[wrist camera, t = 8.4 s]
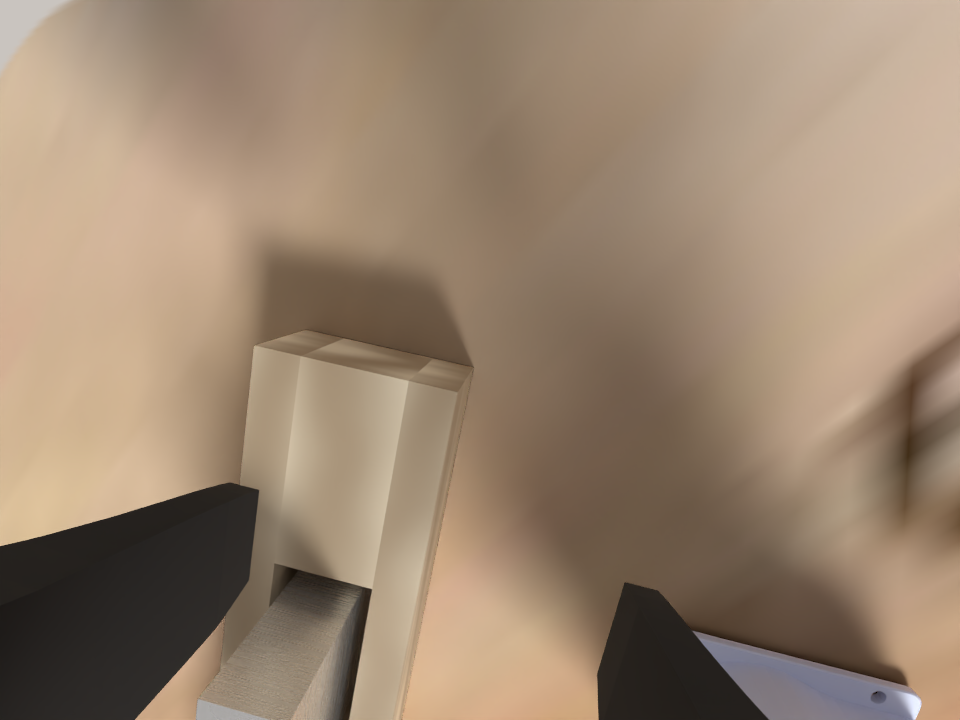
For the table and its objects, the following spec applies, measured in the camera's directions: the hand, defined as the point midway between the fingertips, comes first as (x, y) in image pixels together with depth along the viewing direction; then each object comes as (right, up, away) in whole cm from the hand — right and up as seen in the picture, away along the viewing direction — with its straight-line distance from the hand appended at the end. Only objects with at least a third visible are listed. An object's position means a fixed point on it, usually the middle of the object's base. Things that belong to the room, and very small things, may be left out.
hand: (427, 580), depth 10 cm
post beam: (-4, -6, +11) cm, 14 cm away
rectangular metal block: (-5, -6, +11) cm, 14 cm away
